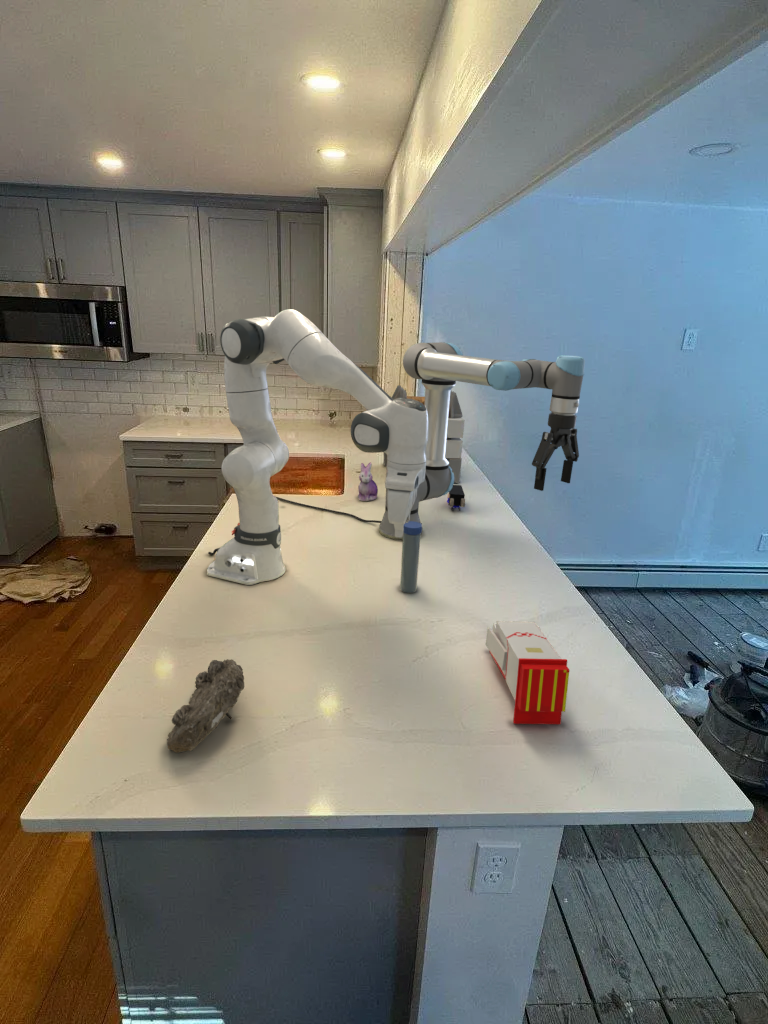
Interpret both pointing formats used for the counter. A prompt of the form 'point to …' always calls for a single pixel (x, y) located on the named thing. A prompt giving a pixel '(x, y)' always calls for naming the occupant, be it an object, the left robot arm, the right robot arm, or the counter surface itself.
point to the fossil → (206, 705)
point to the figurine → (367, 484)
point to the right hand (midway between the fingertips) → (552, 485)
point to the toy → (530, 671)
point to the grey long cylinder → (409, 563)
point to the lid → (412, 528)
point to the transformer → (453, 431)
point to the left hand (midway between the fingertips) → (402, 528)
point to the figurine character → (456, 497)
